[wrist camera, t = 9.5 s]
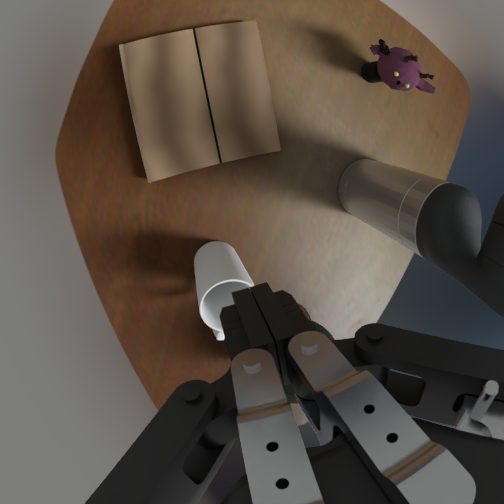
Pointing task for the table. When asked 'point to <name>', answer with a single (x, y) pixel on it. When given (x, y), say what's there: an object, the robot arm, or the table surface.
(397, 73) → the figurine
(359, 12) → the table surface
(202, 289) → the mug
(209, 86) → the fixed plank
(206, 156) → the board
